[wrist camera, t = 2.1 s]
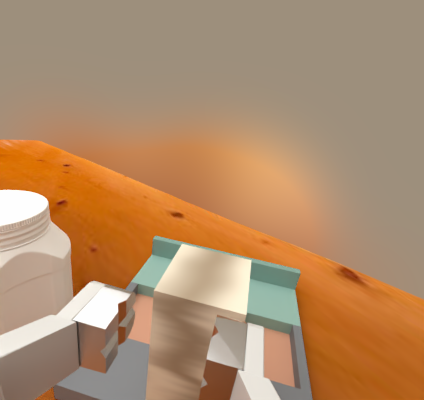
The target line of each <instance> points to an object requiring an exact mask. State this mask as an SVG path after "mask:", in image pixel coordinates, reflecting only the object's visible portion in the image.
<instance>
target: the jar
mask: <svg viewBox="0 0 424 400" xmlns="http://www.w3.org/2000/svg"><path fill="white" fill-rule="evenodd" d="M70 256H71V243H70V239H69V237H68V236H67V235H66V234H65V233H64V232H63V231H62V230H61V229H60V228H58V227H57V226H56V225H55V224H54V223H53V222H52V221H51V220H50V211H49V203H48V200H47V199H46V198H45V197H43V196H42V195H39V194H37V193H33V192H28V191H20V190H0V335H2V334H5V333H7V332H10V331H12V330H15V329H17V328H20V327H22V326H24V325H27V324H29V323H32V322H34V321H37V320H39V319H42V318H44V317H46V316H49V315H55V316H56V315H57V314H58V313H59V312H60V311H61V310H62V309H63V308H64V307H65V306H66V305H67V304H68V303H69V302H70V301H71V300H72V299H73V286H72V272H71V258H70Z"/></svg>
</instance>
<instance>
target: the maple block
mask: <svg viewBox="0 0 424 400" xmlns="http://www.w3.org/2000/svg"><path fill="white" fill-rule="evenodd" d="M250 271H251V260H248V259H244V258H240V257H236V256H231V255H227V254H223V253H219V252H214V251H210V250H206V249H202V248H198V247H193V246H189V245H185V244H182V245H181V247H180V248H179V250H178V251H177V253H176V255H175V256H174V258H173V260H172V261H171V263H170V265H169V266H168V268H167V270H166V271H165V273H164V275H163V276H162V278H161V279H160V281H159V283H158V284H157V286H156V288H155V289H154V295H153V308H152V321H151V334H150V347H149V360H148V374H147V387H146V400H199V394H200V389H201V384H202V380H203V374H204V369H205V364H206V359H207V355H208V351H209V346H210V342H211V338H212V334H213V329H214V325H215V321H216V317H217V315H221V316H224V317H228V318H232V319H236V320H240V321H244V322H245V319H246V315H247V304H248V293H249V282H250Z"/></svg>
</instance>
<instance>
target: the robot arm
mask: <svg viewBox="0 0 424 400" xmlns="http://www.w3.org/2000/svg"><path fill="white" fill-rule="evenodd" d="M135 302H136V294H135V293H134V292H131V291H128V290H124V289H121V288H118V287H114V286H111V285H108V284H103V283H100V282H97V281H92V282H90V283H88V284H87V285H86V286H85V287H84V288H83V289H82V290H81V291H80V292H79V293H78V294H77V295H76V296H75V297H74V298H73V299H72V300H71V301H70V302H69V303H68V304H67V305H66V306H65V307H64V308H63V309H62V310H61V311H60V312H59V313H58V314H57V315H56V316H55V315H49V316H46V317H44V318H42V319H39V320H37V321H34V322H32V323H29V324H27V325H24V326H22V327H20V328H17V329H15V330H12V331H10V332H7V333H5V334H2V335H0V400H35V399H36V398H37V397H39V396H40V395H42V394H43V393H45V392H46V391H48V390H49V389H50V388H52V387H53V386H55V385H56V384H58V383H59V382H60V381H62V380H63V379H65V378H66V377H68V376H69V375H70V374H72V373H73V372H75V371H76V370H78V369H79V366H80V367H83V368H87V369H90V370H94V371H97V372H101V373H104V374H106V373H107V371H108V369H109V368H110V366H111V364H112V363H113V361H114V359H115V358H116V356H117V354H118V345H120V344H122V343H124V342H125V341H126V339H127V338H128V336H129V334H130V332H131V329H132V327H133V324H134V319H135V311H134V309H133V308H132V307H133V305H134V303H135ZM199 400H281V399H280V397H279V396H278V394H277V392H276V390H275V388H274V386H273V385H272V383H271V381H270V379H268V378H265V377H264V328H263V326H259V325H255V324H252V323H247V322H244V321H240V320H236V319H232V318H228V317H224V316H221V315H217V317H216V321H215V325H214V329H213V334H212V338H211V342H210V346H209V351H208V355H207V359H206V364H205V369H204V374H203V380H202V384H201V389H200V394H199Z"/></svg>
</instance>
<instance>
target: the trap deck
mask: <svg viewBox="0 0 424 400" xmlns="http://www.w3.org/2000/svg"><path fill="white" fill-rule="evenodd" d="M182 244H185V245H189V246H193V247H198V248H202V249H206V250H210V251H214V252H219V253H223V254H227V255H231V256H236V257H240V258H244V259H248V260H251V271H250V282H249V293H248V304H247V315H246V319H245V322H247V323H252V324H255V325H259V326H263V328H264V377H265V378H268V379H270V381H271V383H272V385H273V386H274V388H275V390H276V392H277V394H278V396H279V397H280V399H281V400H312V393H311V387H310V381H309V374H308V368H307V362H306V356H305V349H304V343H303V337H302V331H301V324H300V318H299V312H298V306H297V299H296V293H295V288H296V285H297V282H298V279H299V276H300V270H299V269H294V268H290V267H286V266H282V265H277V264H273V263H269V262H265V261H261V260H256V259H252V258H248V257H244V256H239V255H235V254H231V253H227V252H222V251H218V250H214V249H210V248H205V247H201V246H197V245H193V244H188V243H184V242H180V241H176V240H171V239H167V238H163V237H159V236H155V237H154V238H153V247H152V255H151V257H150V258H149V259H148V260H147V262H146V263H145V264H144V266H143V267H142V268H141V270H140V271H139V272H138V274H137V275H136V276H135V277H134V279H133V280H132V281H131V283H130V284H129V285H128V287H127V288H126V289H125V290H128V291H131V292H134V293H135V294H136V302H135V303H134V305H133V307H132V308H133V309H134V311H135V319H134V324H133V327H132V329H131V332H130V334H129V336H128V338H127V339H126V341H125V342H124V343H122V344H120V345H118V354H117V356H116V358H115V359H114V361H113V363H112V364H111V366H110V368H109V369H108V371H107V373H106V374H104V373H101V372H97V371H94V370H90V369H87V368H83V367H80V366H79V369H78V370H76V371H75V372H73V373H72V374H70V375H69V376H68V377H66V378H65V379H63V380H62V381H60V382H59V383H58V384H56V385H55V386H53V388H54V395H55V399H58V400H146V387H147V374H148V360H149V347H150V334H151V321H152V308H153V295H154V289H155V288H156V286H157V284H158V283H159V281H160V279H161V278H162V276H163V275H164V273H165V271H166V270H167V268H168V266H169V265H170V263H171V261H172V260H173V258H174V256H175V255H176V253H177V251H178V250H179V248H180V247H181V245H182Z"/></svg>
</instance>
